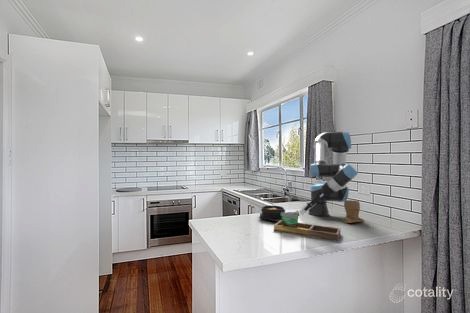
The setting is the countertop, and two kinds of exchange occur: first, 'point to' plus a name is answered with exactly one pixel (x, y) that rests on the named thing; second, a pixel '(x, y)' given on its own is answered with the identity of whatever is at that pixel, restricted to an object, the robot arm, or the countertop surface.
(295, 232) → the walnut divided tray
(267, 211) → the casserole
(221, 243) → the countertop surface
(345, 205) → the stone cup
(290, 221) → the food container
